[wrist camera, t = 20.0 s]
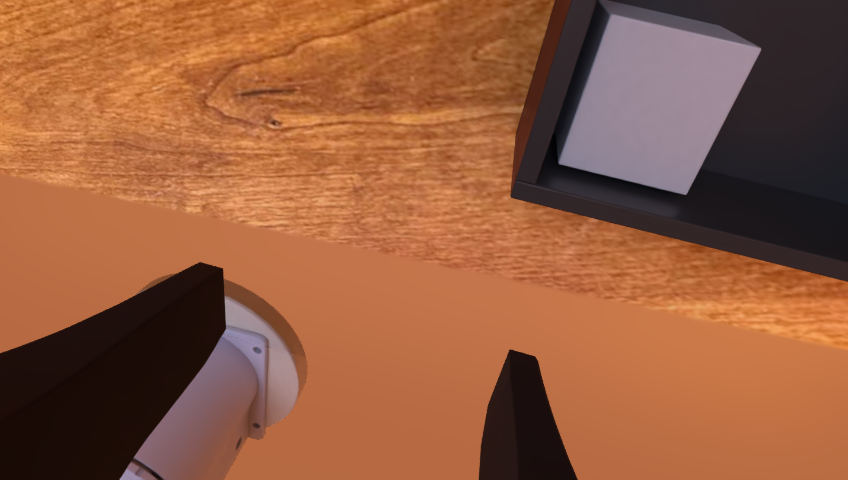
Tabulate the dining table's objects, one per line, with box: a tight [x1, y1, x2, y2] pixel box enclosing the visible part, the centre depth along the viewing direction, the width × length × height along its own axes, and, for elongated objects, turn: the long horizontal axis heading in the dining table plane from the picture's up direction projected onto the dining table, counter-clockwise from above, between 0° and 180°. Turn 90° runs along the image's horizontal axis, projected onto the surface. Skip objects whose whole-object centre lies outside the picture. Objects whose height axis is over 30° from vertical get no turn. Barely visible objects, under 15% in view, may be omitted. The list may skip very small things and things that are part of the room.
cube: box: [555, 0, 761, 195], centre depth 16 cm, size 4×4×4 cm
